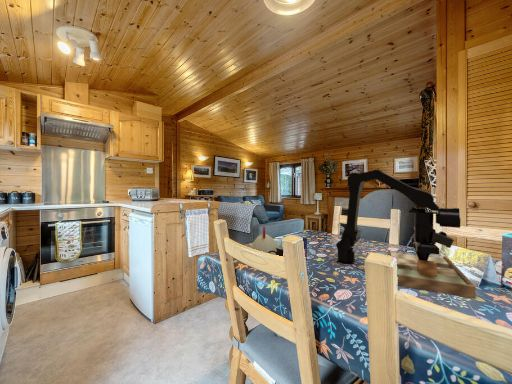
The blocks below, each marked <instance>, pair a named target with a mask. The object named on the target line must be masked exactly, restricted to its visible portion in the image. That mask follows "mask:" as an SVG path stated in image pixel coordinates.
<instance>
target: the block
mask: <svg viewBox="0 0 512 384" xmlns="http://www.w3.org/2000/svg"><path fill="white" fill-rule="evenodd" d="M417 271H418V273H419V275H426V276H433V277H437V265H436V263H435V262H434V261H426V260H417Z"/></svg>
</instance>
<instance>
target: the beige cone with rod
mask: <svg viewBox="0 0 512 384" xmlns="http://www.w3.org/2000/svg"><path fill="white" fill-rule="evenodd" d="M277 246H278V244H277V243H276V241H275V240H274V239H273V238H272V237H271V236H270V235H268V234H266V226H263V227H262V233H261V234H259V235H258V236H257V237H256V238H255V239H254V241H253V243H251V244H250V246H249V247H250V248H253V249H256V250H259V251H263V252H266V253H268V252H269V251H272V250H273V251H276V252H277V248H276V247H277ZM250 248H249V249H250ZM270 254H275V255H276V253H274V252H271V253H270Z"/></svg>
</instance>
